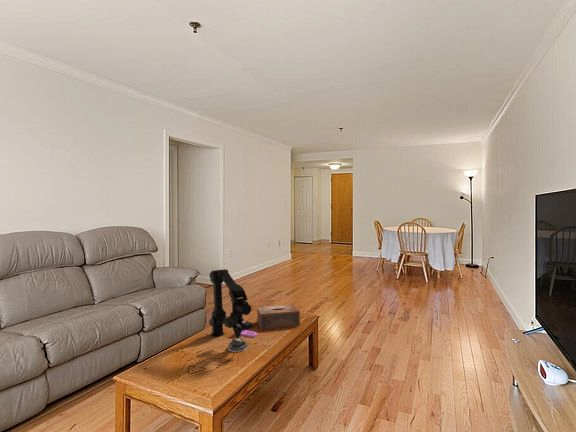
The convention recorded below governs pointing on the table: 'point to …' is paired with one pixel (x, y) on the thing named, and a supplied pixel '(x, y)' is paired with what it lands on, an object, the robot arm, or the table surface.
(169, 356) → the table surface
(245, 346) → the shallow metal dish
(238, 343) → the cap
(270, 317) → the tissue box cover
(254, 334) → the bracket
